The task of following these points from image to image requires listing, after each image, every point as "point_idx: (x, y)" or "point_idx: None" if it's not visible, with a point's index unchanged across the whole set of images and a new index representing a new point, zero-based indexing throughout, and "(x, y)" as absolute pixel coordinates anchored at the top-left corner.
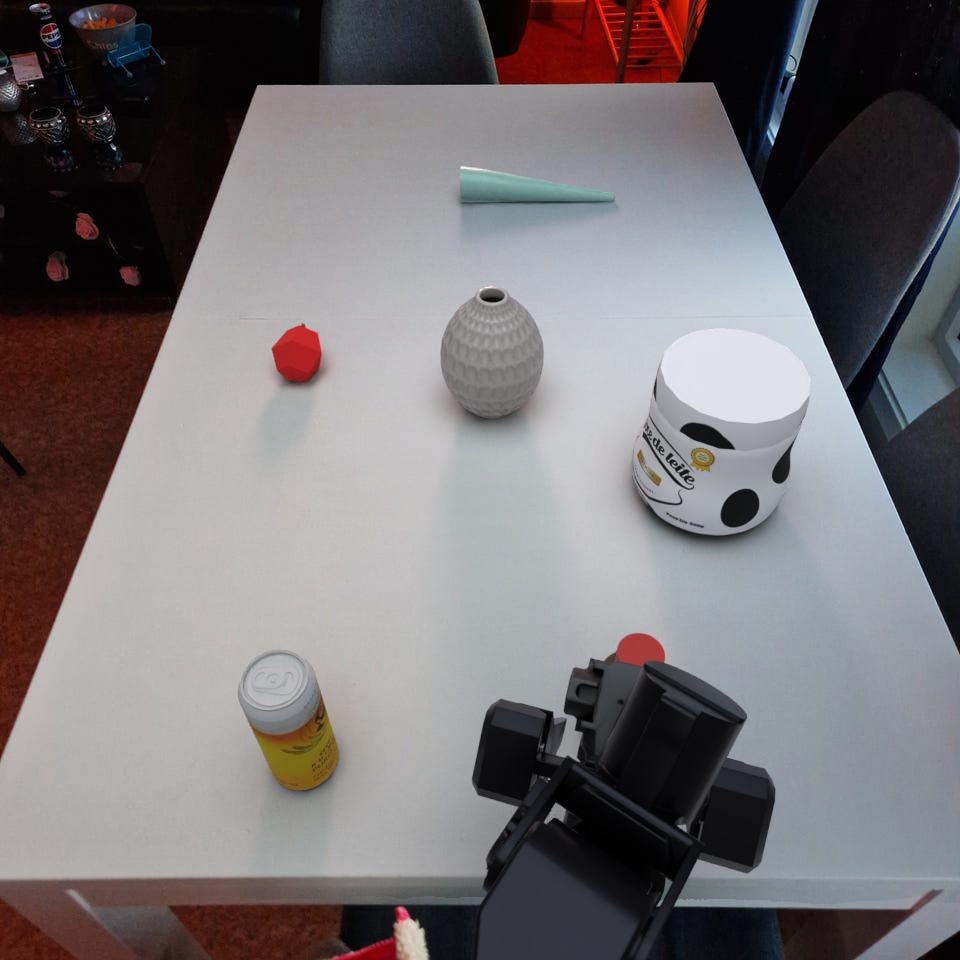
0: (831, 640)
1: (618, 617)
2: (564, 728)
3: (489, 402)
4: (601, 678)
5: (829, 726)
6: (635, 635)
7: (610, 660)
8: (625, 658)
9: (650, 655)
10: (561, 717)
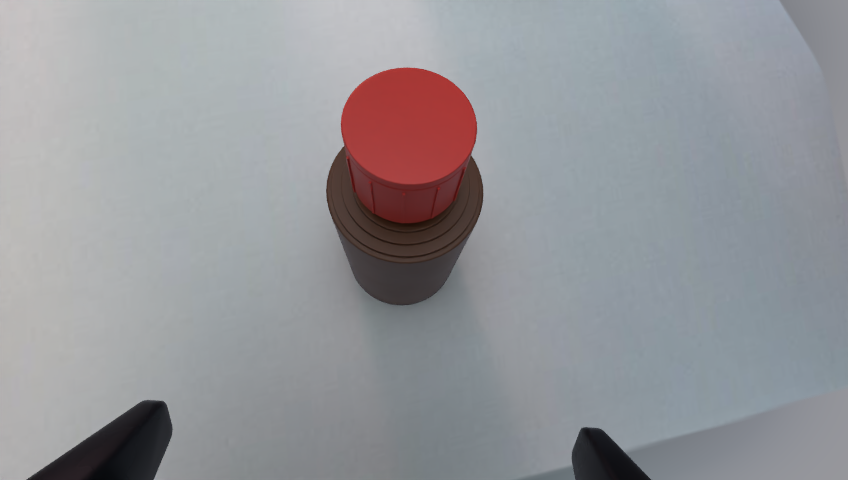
0: (677, 72)
1: None
2: (141, 457)
3: None
4: (331, 198)
5: (695, 194)
6: (389, 76)
7: None
8: (366, 144)
9: (436, 124)
10: (131, 411)
